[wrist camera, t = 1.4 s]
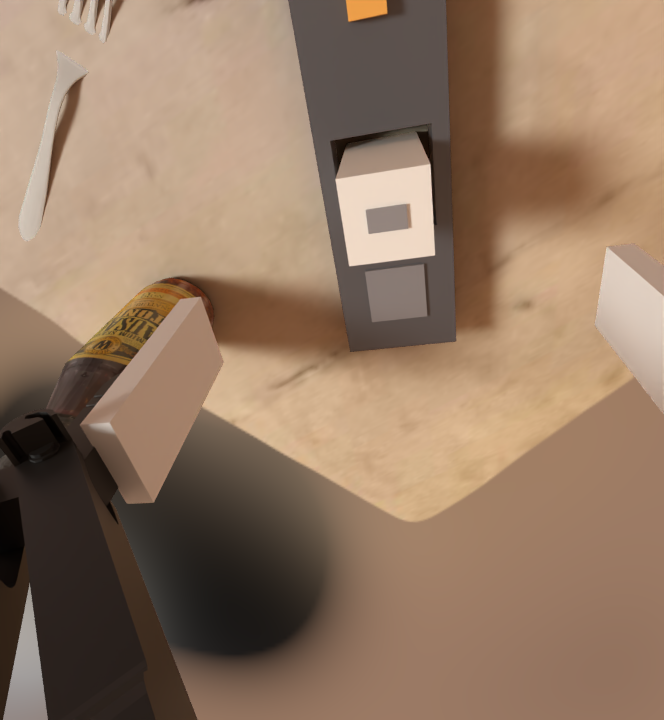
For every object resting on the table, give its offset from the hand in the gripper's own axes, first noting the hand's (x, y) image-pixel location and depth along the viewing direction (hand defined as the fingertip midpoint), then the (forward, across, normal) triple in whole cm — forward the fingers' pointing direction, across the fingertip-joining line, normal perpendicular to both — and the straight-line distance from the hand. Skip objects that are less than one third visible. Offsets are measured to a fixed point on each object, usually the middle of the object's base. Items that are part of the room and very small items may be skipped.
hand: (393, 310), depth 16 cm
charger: (+19, 0, 0) cm, 19 cm away
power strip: (+19, 0, +2) cm, 20 cm away
